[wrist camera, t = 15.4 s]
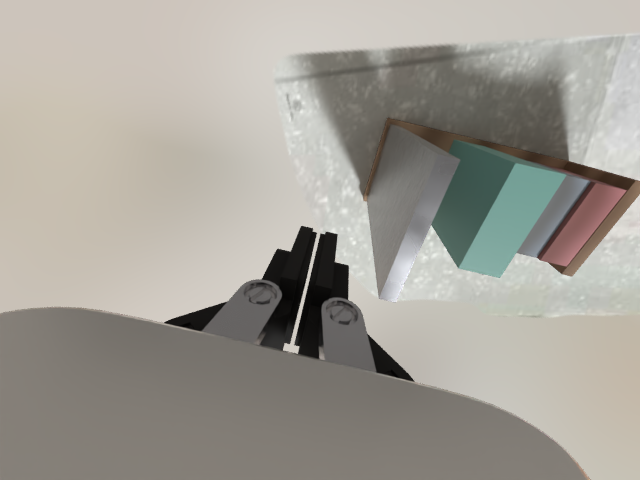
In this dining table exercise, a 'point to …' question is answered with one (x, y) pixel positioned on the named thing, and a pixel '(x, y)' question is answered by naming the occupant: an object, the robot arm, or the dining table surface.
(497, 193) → the loose book
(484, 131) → the dining table surface
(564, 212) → the book rack
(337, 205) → the dining table surface
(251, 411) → the robot arm
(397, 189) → the bookend
